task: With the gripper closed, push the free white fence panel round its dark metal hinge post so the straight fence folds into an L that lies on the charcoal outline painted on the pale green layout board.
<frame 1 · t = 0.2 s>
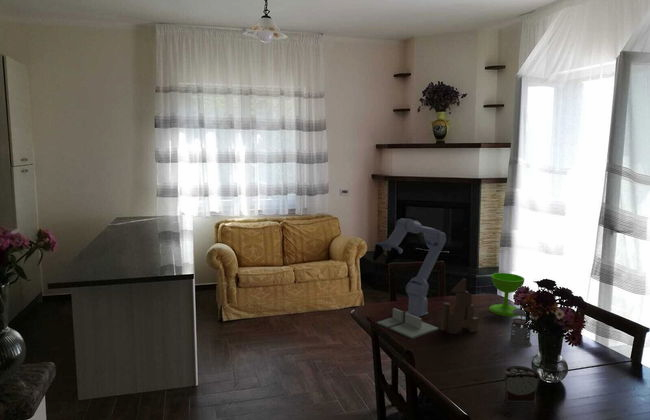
hand: (379, 261, 219), 31 cm above the table, tool tilted 45°, fingers open, 7 cm apart
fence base: (403, 324, 227), resting on layout board
wooden toy: (458, 330, 221), on the table
wineglass: (505, 311, 248), on the table
grey box grater: (520, 342, 209), on the table
food container: (516, 397, 163), on the table
layout board: (407, 326, 224), on the table
fence panel: (413, 320, 222), point 3 cm above the table, hinge at 0.0°
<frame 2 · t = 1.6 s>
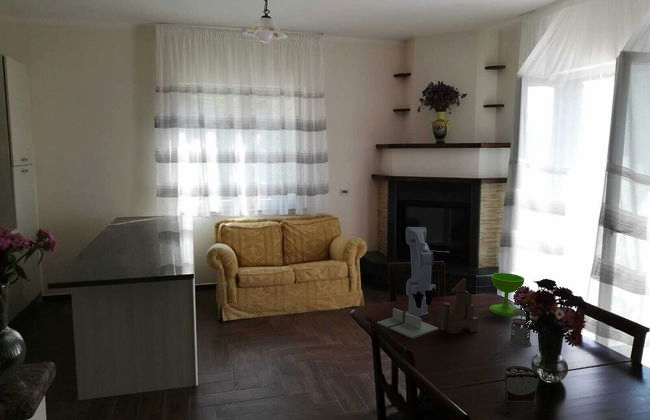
hand: (423, 306, 223), 10 cm above the table, tool pointing down, fingers open, 6 cm apart
nothing on the table moved.
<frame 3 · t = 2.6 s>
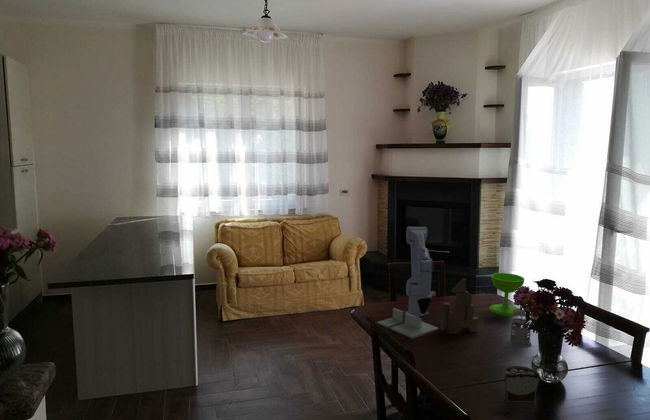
hand: (423, 313, 224), 6 cm above the table, tool pointing down, fingers closed
nothing on the table moved.
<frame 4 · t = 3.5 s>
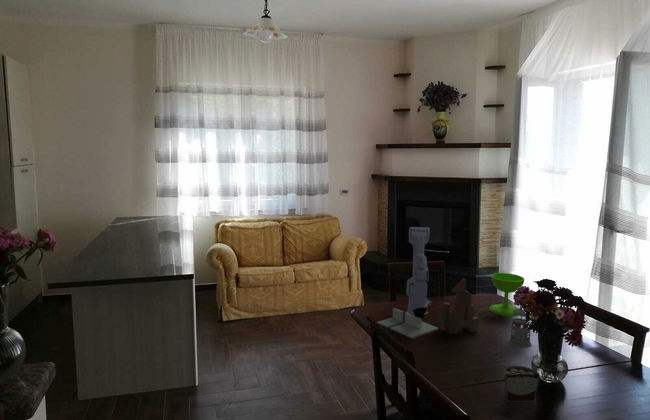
hand: (418, 322, 223), 2 cm above the table, tool pointing down, fingers closed
fence panel: (413, 320, 222), point 3 cm above the table, hinge at 0.0°, touching gripper
everything else where it was.
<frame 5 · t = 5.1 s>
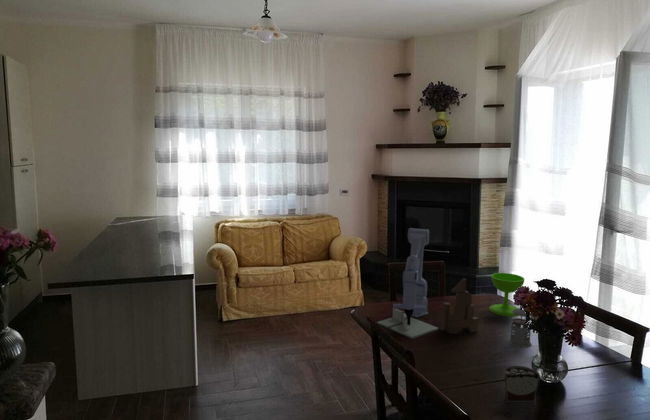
hand: (408, 324, 220), 2 cm above the table, tool pointing down, fingers closed, pressing on fence panel
fence panel: (405, 321, 221), point 3 cm above the table, hinge at 43.4°, touching gripper
everything else where it was.
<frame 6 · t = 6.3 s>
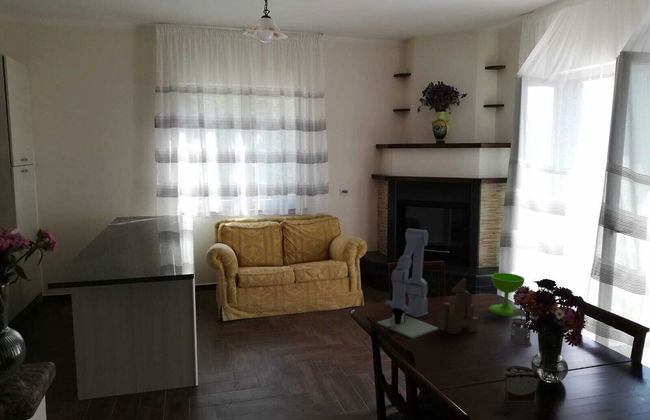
hand: (397, 323, 221), 2 cm above the table, tool pointing down, fingers closed, pressing on fence panel
fence panel: (397, 320, 223), point 3 cm above the table, hinge at 82.5°, touching gripper
everything else where it was.
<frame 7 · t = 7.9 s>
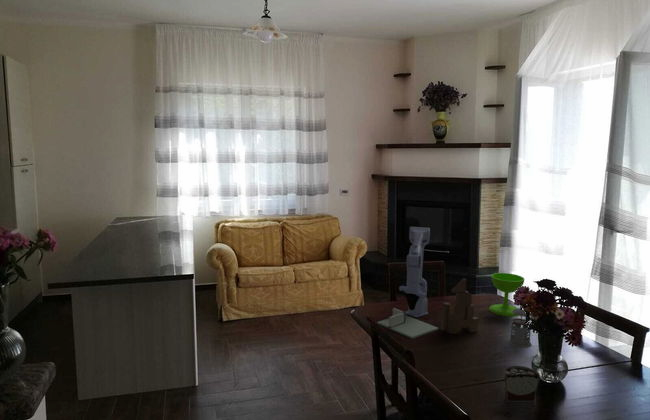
hand: (411, 309, 218), 10 cm above the table, tool pointing down, fingers closed
fence panel: (396, 319, 223), point 3 cm above the table, hinge at 87.1°
everything else where it was.
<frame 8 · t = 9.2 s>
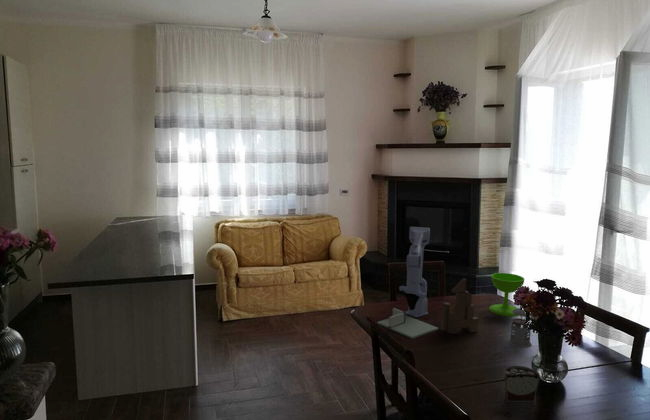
hand: (411, 309, 218), 10 cm above the table, tool pointing down, fingers closed
nothing on the table moved.
at the end: fence panel at +87° (first picture: +0°); fence panel touching nothing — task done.
